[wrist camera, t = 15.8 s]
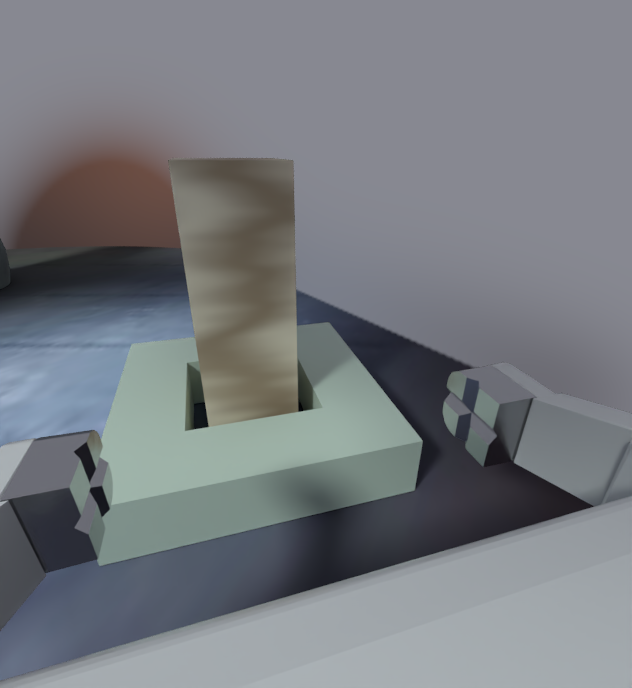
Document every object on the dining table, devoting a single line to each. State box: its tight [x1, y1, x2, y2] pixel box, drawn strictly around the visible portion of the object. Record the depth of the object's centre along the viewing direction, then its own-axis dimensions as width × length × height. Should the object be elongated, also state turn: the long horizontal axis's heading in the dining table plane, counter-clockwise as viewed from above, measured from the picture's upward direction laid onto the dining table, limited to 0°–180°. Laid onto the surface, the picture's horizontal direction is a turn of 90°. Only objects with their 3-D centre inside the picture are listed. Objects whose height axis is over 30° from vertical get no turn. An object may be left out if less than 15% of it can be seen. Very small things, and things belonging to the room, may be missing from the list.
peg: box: [168, 158, 298, 427], centre depth 19 cm, size 4×4×14 cm
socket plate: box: [97, 322, 423, 566], centre depth 21 cm, size 14×14×3 cm
